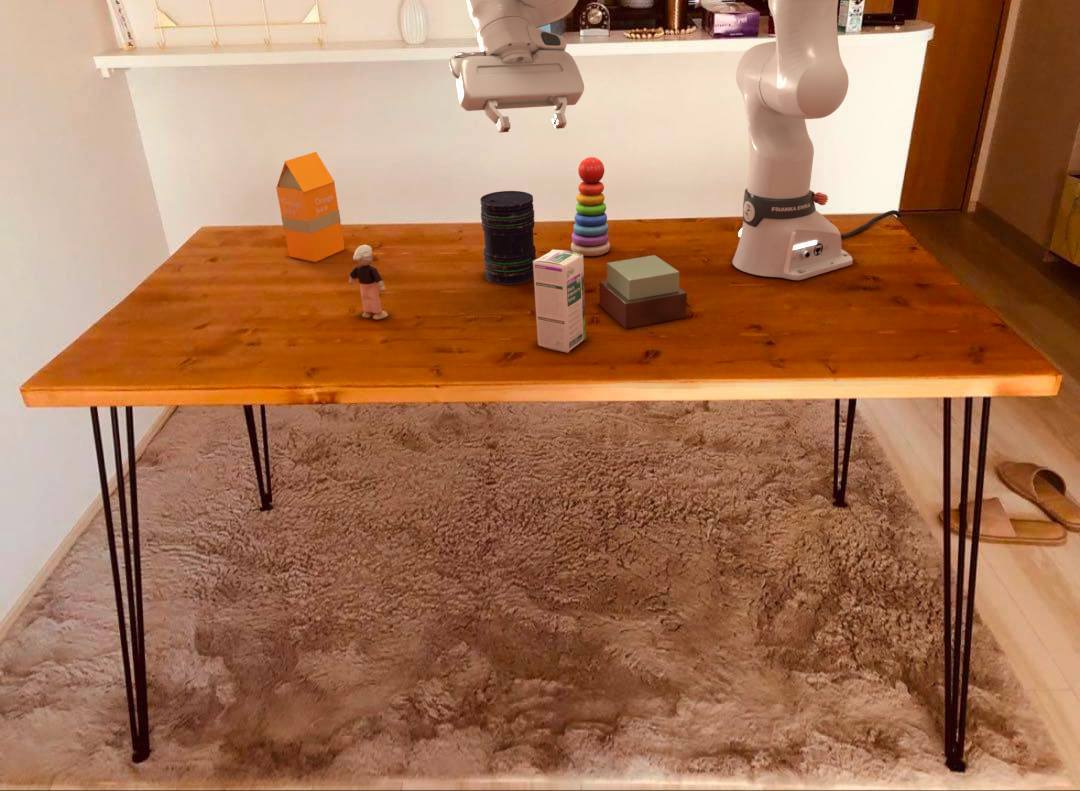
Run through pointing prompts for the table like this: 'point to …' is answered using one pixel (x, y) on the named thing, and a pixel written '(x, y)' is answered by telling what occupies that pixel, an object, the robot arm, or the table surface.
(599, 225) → the stacking toy
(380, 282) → the grandmother figurine
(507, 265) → the dark blue cylinder
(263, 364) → the table surface
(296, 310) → the table surface
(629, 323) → the base block
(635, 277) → the top block
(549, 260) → the syrup box
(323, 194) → the orange juice
